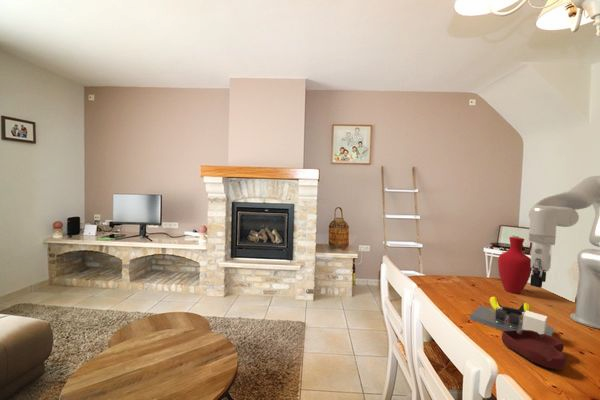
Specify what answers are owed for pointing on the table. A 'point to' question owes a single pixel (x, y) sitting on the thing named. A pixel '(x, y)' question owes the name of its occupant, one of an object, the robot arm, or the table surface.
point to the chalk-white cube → (534, 322)
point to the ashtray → (536, 348)
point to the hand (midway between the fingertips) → (538, 283)
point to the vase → (514, 267)
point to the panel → (504, 326)
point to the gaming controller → (520, 311)
